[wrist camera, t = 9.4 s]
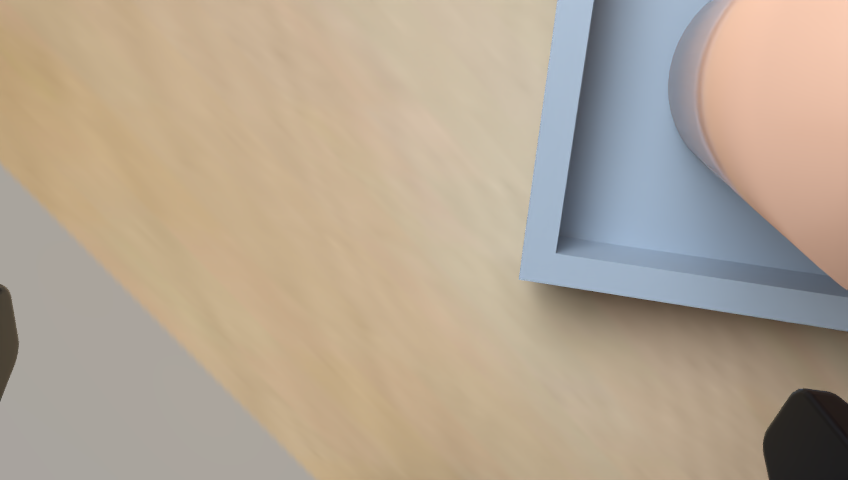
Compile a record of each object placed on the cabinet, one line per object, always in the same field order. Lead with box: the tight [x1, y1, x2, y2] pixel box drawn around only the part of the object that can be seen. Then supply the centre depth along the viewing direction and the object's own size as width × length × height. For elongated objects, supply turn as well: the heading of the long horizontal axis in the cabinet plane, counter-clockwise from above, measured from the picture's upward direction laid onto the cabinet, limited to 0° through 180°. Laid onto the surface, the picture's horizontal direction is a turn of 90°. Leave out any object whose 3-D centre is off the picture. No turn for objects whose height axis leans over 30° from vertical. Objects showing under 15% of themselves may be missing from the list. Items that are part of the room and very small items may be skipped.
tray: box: [519, 0, 848, 331], centre depth 18 cm, size 11×11×2 cm
